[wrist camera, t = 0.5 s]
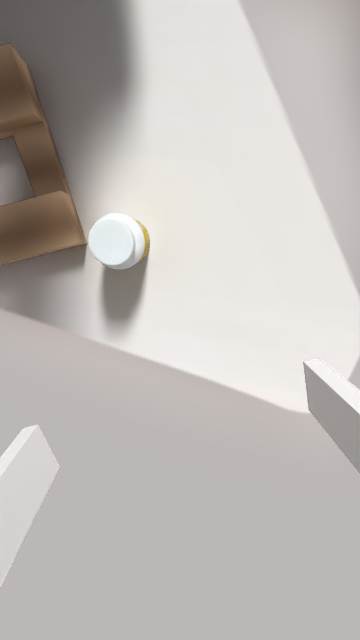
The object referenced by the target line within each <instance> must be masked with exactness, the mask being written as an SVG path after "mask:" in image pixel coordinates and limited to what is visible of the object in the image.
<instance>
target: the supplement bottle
mask: <svg viewBox="0 0 360 640" xmlns="http://www.w3.org/2000/svg"><path fill="white" fill-rule="evenodd" d="M88 244H89V248H90V251H91V253H92V254H93V256H94V257H95V258H96V259H97V260H98V261H100V262H101V263H102V264H103V265H105V266H107V267H109V268H112V269H119V270H120V269H127V268H130V267H132V266H133V265H135V264H136V263H138V262H139V261H141V260H142V259H143V258H144V257H145V256H146V255H147V253H148V251H149V247H150V238H149V234H148V231H147V229H146V228H145V227H144V226H143V225H142V224H141V223H140V222H139V221H137V220H135V219H133V218H131V217H129V216H127V215H125V214H121V213H110V214H106V215H104V216H102V217H101V218H99V219H98V220H97V221H96V223H95V224H94V225H93V227H92V228H91V230H90V232H89V236H88Z"/></svg>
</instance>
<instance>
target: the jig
mask: <svg viewBox="0 0 360 640" xmlns="http://www.w3.org/2000/svg"><path fill="white" fill-rule="evenodd" d="M12 136H13V137H14V140H15V142H16V145H17V148H18V150H19V153H20V156H21V159H22V161H23V164H24V167H25V169H26V172H27V175H28V177H29V180H30V183H31V186H32V188H33V191H34V194H35V196H36V197H34V198H30V199H26V200H23V201H19V202H15V203H11V204H7V205H4V206H0V265H4V264H8V263H12V262H16V261H20V260H24V259H27V258H31V257H35V256H39V255H43V254H47V253H51V252H55V251H59V250H63V249H67V248H71V247H75V246H79V245H83V244H87V242H86V239H85V236H84V233H83V230H82V227H81V224H80V221H79V218H78V215H77V212H76V209H75V206H74V203H73V200H72V197H71V194H70V191H69V188H68V185H67V182H66V179H65V176H64V173H63V170H62V167H61V164H60V161H59V158H58V155H57V152H56V149H55V146H54V143H53V140H52V137H51V134H50V131H49V128H48V125H47V121H46V118H45V115H44V112H43V109H42V106H41V103H40V100H39V97H38V94H37V91H36V88H35V85H34V82H33V79H32V76H31V73H30V70H29V67H28V65H27V63H26V62H25V61H24V60H23V58H22V57H21V56H20V55H19V54H18V52H17V51H16V50H15V49H14V47H13V46H12V45H11V44H10V43H8V44H4V45H1V46H0V140H1V139H4V138H8V137H12Z"/></svg>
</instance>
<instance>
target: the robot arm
mask: <svg viewBox="0 0 360 640" xmlns="http://www.w3.org/2000/svg"><path fill="white" fill-rule="evenodd" d="M303 364H304V373H305V382H306V390H307V399H308V408H309V411H310V412H311V413H312V414H313V415H314V417H315V418H316V419H317V421H318V422H319V423H320V424H321V426H322V427H323V428H324V429H325V431H326V432H327V433H328V434H329V436H330V437H331V438H332V439H333V441H334V442H335V443H336V444H337V445H338V447H339V448H340V449H341V451H342V452H343V453H344V454H345V456H346V457H347V458H348V459H349V461H350V462H351V463H352V464H353V466H354V467H355V468H356V469H357V470H358V472H359V473H360V390H359V389H358V388H357V387H355V386H354V385H353V384H352V383H350V382H349V381H348V380H347V379H345V378H344V377H343V376H342V375H340V374H339V373H338V372H337V371H335V370H334V369H333V368H332V367H330V366H329V365H328V364H327V363H325V362H324V361H323V360H322V359H320V358H316V359H312V360H308V361H304V362H303ZM58 469H59V464H58V462H57V461H56V458H55V456H54V455H53V452H52V451H51V449H50V447H49V445H48V443H47V441H46V439H45V437H44V435H43V433H42V431H41V429H40V427H39V425H34V426H30V427H25V428H23V429H22V430H21V432H20V433H19V434H18V435H17V437H16V438H15V439H14V441H13V442H12V443H11V444H10V446H9V447H8V448H7V450H6V451H5V452H4V453H3V455H2V456H1V457H0V587H1V585H2V583H3V581H4V579H5V577H6V575H7V573H8V571H9V569H10V567H11V565H12V563H13V561H14V559H15V557H16V555H17V553H18V551H19V549H20V547H21V545H22V543H23V540H24V539H25V536H26V534H27V532H28V530H29V528H30V526H31V524H32V522H33V520H34V518H35V516H36V513H37V512H38V510H39V508H40V506H41V504H42V502H43V500H44V497H45V496H46V494H47V491H48V489H49V487H50V485H51V483H52V481H53V479H54V477H55V475H56V473H57V471H58Z"/></svg>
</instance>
